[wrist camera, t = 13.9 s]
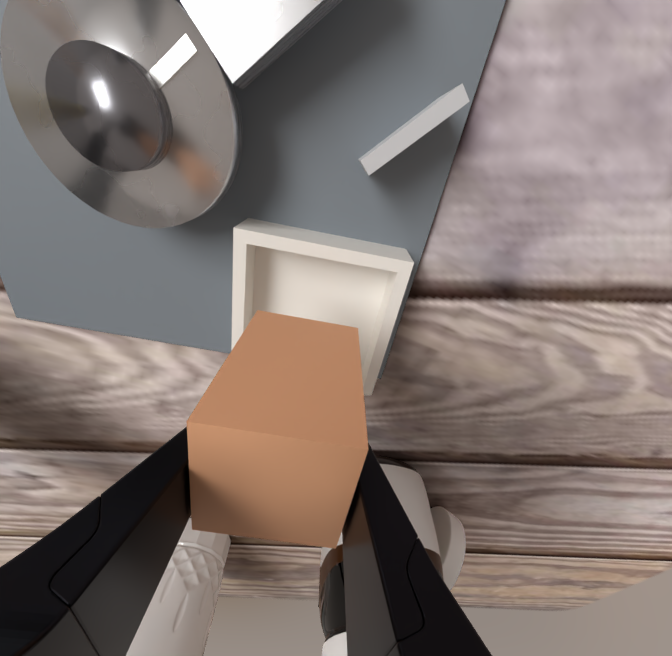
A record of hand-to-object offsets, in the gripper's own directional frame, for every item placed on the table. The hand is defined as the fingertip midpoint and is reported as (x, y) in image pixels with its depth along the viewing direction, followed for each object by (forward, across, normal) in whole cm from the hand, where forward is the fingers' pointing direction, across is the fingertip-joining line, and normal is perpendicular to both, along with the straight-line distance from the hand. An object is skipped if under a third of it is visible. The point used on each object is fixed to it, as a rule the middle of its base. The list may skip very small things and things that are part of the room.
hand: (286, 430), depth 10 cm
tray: (+9, 0, 0) cm, 9 cm away
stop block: (+4, 0, 0) cm, 4 cm away
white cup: (+10, +8, +28) cm, 31 cm away
